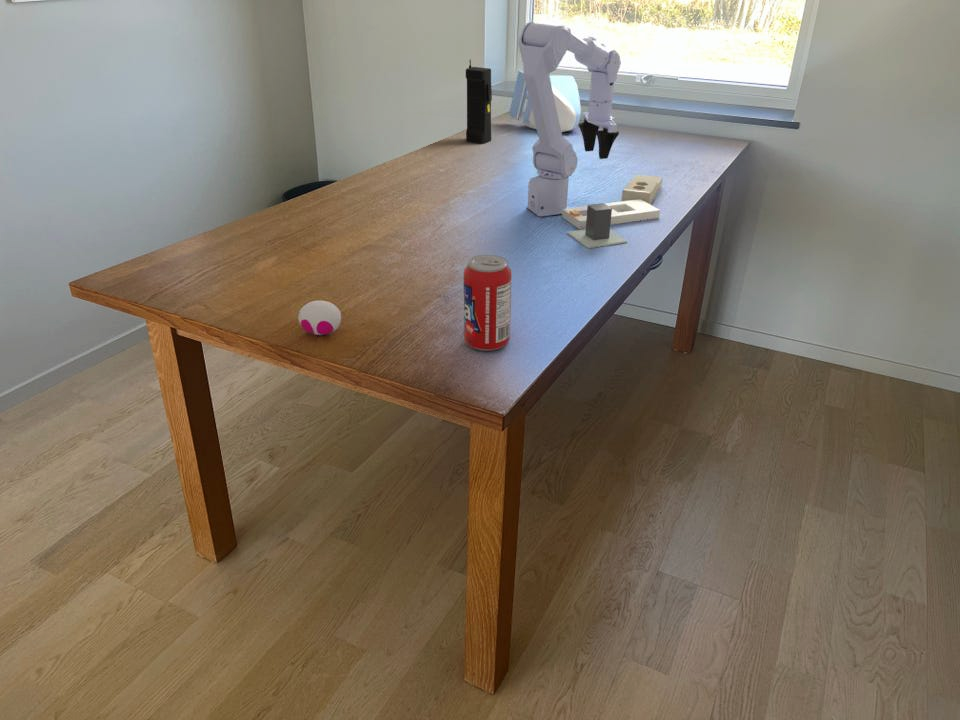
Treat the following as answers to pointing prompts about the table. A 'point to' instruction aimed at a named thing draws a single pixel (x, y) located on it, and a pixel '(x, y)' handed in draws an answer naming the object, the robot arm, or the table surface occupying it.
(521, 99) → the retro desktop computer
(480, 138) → the portable radio
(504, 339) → the soda can
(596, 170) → the table surface
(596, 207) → the charger
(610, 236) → the mat
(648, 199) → the electrical outlet
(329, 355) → the table surface
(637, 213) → the power strip
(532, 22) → the robot arm
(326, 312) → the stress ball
